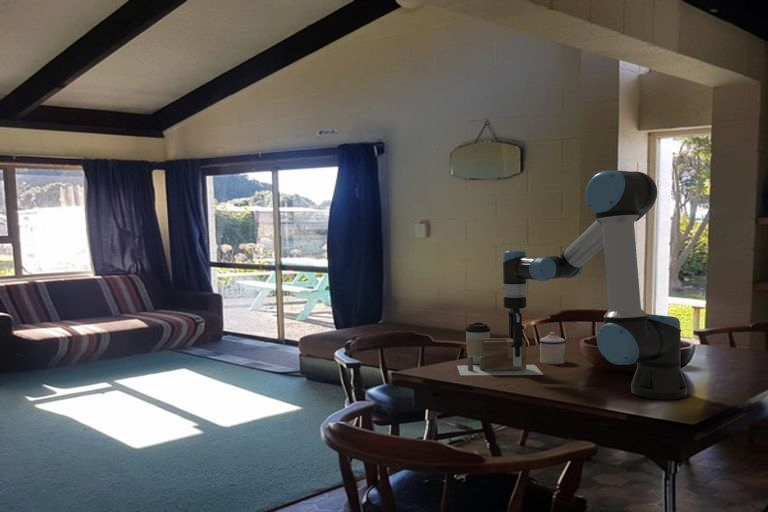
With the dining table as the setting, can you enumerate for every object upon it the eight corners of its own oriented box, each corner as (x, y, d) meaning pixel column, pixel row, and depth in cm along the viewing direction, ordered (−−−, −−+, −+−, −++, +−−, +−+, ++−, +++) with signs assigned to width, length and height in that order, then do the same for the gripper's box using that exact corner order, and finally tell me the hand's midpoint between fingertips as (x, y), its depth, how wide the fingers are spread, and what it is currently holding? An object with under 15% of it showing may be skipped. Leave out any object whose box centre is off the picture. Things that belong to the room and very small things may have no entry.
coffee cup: (490, 368, 237) (489, 325, 236) (464, 367, 238) (464, 325, 238) (491, 363, 245) (491, 322, 245) (466, 362, 247) (466, 322, 247)
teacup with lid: (570, 366, 237) (570, 333, 236) (546, 368, 235) (545, 334, 235) (555, 360, 249) (554, 329, 248) (532, 361, 247) (531, 330, 246)
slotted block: (526, 368, 224) (526, 341, 224) (483, 368, 225) (483, 341, 224) (522, 364, 231) (522, 338, 231) (481, 364, 232) (481, 338, 231)
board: (543, 378, 219) (543, 360, 219) (460, 378, 220) (460, 361, 220) (534, 368, 235) (534, 352, 235) (457, 368, 236) (456, 352, 236)
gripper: (500, 293, 237) (500, 358, 238) (507, 299, 217) (508, 370, 218) (521, 293, 236) (522, 358, 237) (531, 299, 217) (531, 369, 217)
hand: (515, 363), depth 228 cm, fingers closed on slotted block, 7 cm apart
